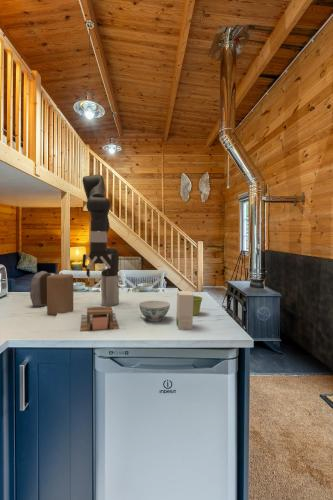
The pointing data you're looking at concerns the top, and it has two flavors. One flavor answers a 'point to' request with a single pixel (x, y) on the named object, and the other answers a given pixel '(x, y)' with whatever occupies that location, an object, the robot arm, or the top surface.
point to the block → (59, 293)
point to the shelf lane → (87, 319)
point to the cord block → (99, 321)
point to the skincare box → (184, 309)
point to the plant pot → (196, 304)
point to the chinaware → (154, 309)
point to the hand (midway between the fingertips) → (98, 276)
